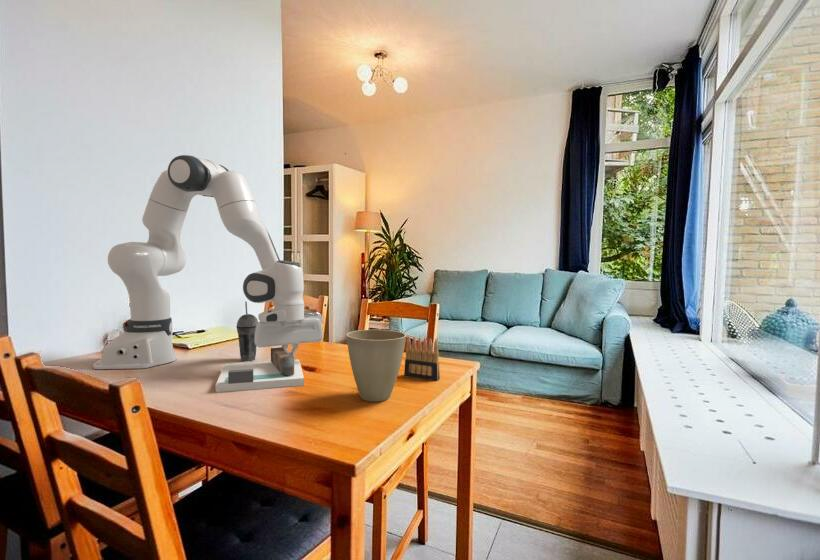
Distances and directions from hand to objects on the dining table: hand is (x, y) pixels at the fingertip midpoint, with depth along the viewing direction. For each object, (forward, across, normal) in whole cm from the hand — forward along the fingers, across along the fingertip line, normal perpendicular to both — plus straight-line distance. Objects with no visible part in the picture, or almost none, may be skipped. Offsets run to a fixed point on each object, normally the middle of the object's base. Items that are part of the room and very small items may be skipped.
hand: (290, 358), depth 129 cm
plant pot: (+4, -13, +34) cm, 37 cm away
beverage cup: (+4, +9, -20) cm, 22 cm away
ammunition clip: (+4, -32, +25) cm, 41 cm away
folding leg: (+1, +3, +5) cm, 6 cm away
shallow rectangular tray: (+4, +9, +4) cm, 10 cm away
